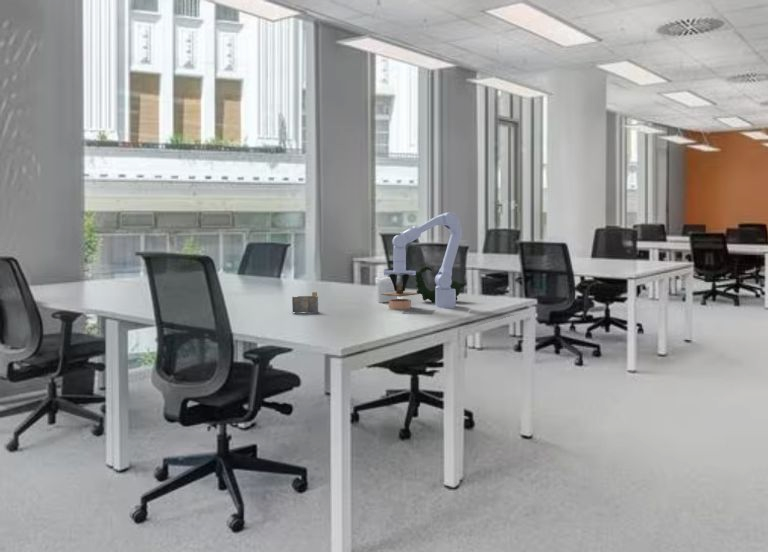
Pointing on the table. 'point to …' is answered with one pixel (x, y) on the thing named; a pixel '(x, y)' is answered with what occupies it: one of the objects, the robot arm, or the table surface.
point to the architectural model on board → (305, 303)
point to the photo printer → (385, 289)
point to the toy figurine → (431, 292)
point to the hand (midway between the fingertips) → (399, 290)
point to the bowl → (399, 303)
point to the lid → (399, 292)
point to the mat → (418, 311)
